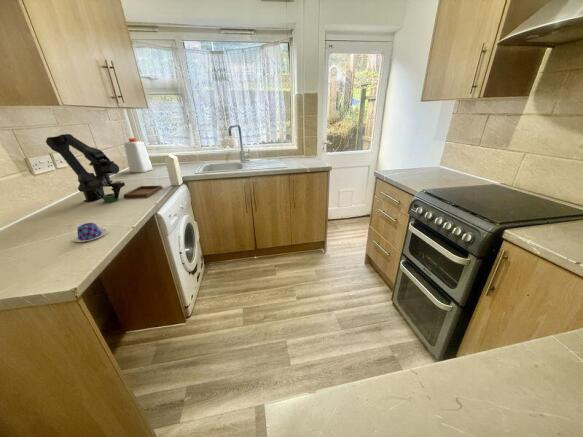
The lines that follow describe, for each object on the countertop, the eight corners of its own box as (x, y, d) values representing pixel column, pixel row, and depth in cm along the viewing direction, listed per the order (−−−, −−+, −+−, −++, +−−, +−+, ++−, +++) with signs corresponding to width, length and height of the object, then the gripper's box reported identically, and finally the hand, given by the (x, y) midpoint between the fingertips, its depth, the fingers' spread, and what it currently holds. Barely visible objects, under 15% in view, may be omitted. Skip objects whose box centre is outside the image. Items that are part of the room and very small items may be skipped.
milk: (171, 185, 172) (163, 153, 163) (174, 183, 177) (167, 152, 168) (179, 185, 172) (172, 153, 163) (183, 183, 177) (176, 152, 168)
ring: (102, 202, 142) (100, 197, 140) (109, 199, 148) (107, 193, 146) (113, 202, 142) (111, 196, 140) (120, 198, 148) (118, 193, 146)
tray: (124, 197, 149) (123, 194, 148) (141, 189, 166) (140, 186, 165) (147, 197, 149) (146, 194, 148) (162, 188, 166) (161, 185, 165)
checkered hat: (67, 246, 95) (62, 234, 93) (78, 233, 105) (73, 222, 103) (104, 239, 99) (99, 228, 97) (110, 228, 110) (106, 217, 107)
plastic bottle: (155, 169, 224) (146, 137, 213) (142, 173, 211) (133, 139, 199) (141, 168, 227) (132, 137, 216) (128, 172, 214) (117, 139, 203)
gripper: (73, 177, 131) (84, 204, 137) (108, 176, 130) (117, 203, 137) (89, 172, 141) (99, 197, 147) (121, 171, 141) (129, 197, 147)
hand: (110, 199), depth 144 cm, fingers open, 8 cm apart
